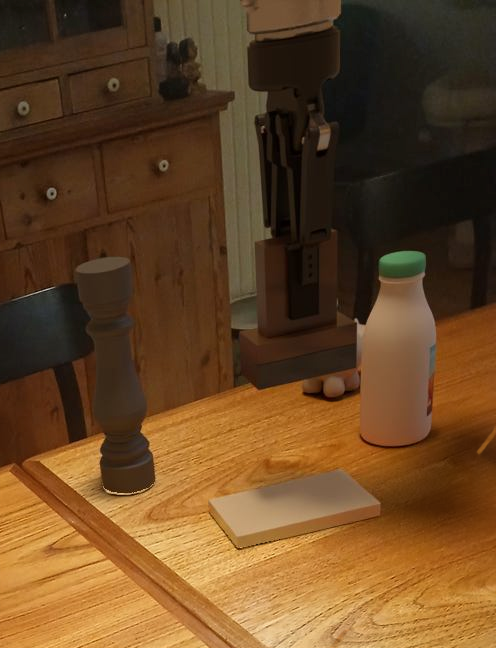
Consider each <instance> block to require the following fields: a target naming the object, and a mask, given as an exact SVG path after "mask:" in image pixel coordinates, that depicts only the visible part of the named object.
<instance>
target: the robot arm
mask: <svg viewBox="0 0 496 648" xmlns="http://www.w3.org/2000/svg"><path fill="white" fill-rule="evenodd" d="M239 1H240V5H241V7H242V8H246V9H245V11H246V14H245V15H246V31H247V32H248V33H249V34H250V35H254V39H253V40H251V41H250V42H249V44H248V45H247V47H246V55H247V56H246V57H247V82H248V87H249V88H250V90H252V91H254V92H259V93H267V95H266V104H265V108H266V109H265V110H266V112H265V113H260V114H256V115H255V116H254V121H253V123H254V124H253V125H254V128H255V134H256V138H257V145H258V160H259V174H260V189H261V190H260V191H261V203H262V218H263V226H264V228H265V229H270V236H271V238H274V237H279V236H283V235H288V234H291V237H292V243H288V244H284V248H285V250H286V251H287V252H288V302H289V319H290V320H297V319H301V318H305V317H310V316H314V315H319V244H321V243H322V242H325V241H329V240H330V239H331V228H332V226H333V207H334V206H333V204H334V187H335V186H334V184H335V167H336V166H335V164H336V162H335V161H336V150H337V145H338V141H339V135H340V124H339V122H338V121H337V120H336V121H330V122H327V121H326V114H325V113H326V112H325V103H324V99H323V91H322V86H323V84H324V83H325V82H326V81H331V80H332V79H334V78H335V77H336V76H337V75H339V72H340V69H341V30H340V29H338V26H337V25H334V20H337V19H338V17H339V16H340V15H341V14H342V0H239ZM332 229H333V228H332Z"/></svg>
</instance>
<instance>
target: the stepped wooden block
mask: <svg viewBox="0 0 496 648" xmlns="http://www.w3.org/2000/svg"><path fill="white" fill-rule="evenodd" d="M288 243H292V237H291V234H288V235H283V236H279V237H274V238H272V237H270V238H265V239H262V240H257V241H254V262H255V263H254V264H255V266H254V267H255V290H256V291H255V293H256V316H257V318H256V319H257V327H253V328H248V329H244V330H240V331H239V332H238V338H239V360H240V375H241V376H242V377H243V378H244V379H245V380H246V381H247V382H248V383H250V384H251V385H252V387H254V388H255V389H257V390H258V391H262V390H267V389H271V388H274V387H279V386H284V385H288V384H293V383H297V382H301V381H302V382H303V380H306V379H310V378H315V377H319V376H324V375H328V374H332V373H337V372H341V371H345V370H350V369H354V368H357V322H355V321H354V319H351V318H350V317H348V316H346V315H345V314H344V313H342V312H340V311H338V230H336V229H334V228H331V239H330V240H329V241H325V242H322V243H321V244H319V315H314V316H310V317H305V318H301V319H297V320H290V319H289V302H288V252H287V251H286V250H285V248H284V244H288Z"/></svg>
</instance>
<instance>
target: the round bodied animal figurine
mask: <svg viewBox="0 0 496 648" xmlns="http://www.w3.org/2000/svg"><path fill="white" fill-rule="evenodd" d="M353 321H355V322H357V368H354V369H350V370H345V371H341V372H337V373H332V374H328V375H324V376H319V377H315V378H310V379H306V380H302V382H301V389H302V391H303V392H304V393H307V394H318V393H320V392H321V391H322V390H323V395H324V396H325V397H326V398H337V397H340V396H342V395H343V394H344V393H345V392H351V391H355V390H357V389H358V388H359V387H360V385H361V377H360V375H359V372H358V371H359V370H358V369H359V367H361V357H362V341H363V334H364V329H365V326H366V324H361V323H360V322H359V319H358V318H357V317H355V318H354V319H353Z"/></svg>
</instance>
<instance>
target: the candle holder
mask: <svg viewBox="0 0 496 648" xmlns="http://www.w3.org/2000/svg"><path fill="white" fill-rule="evenodd" d="M131 263H132V262H131V260H130V259H129V258H128V257H124V256H109V257H101V258H96V259H92V260H89V261H86V262H83V263H81V264H79V265H77V267H75V271H74V272H75V276H76V284H77V285H76V286H77V292H78V300H79V302H80V303H81V304H82V307H83V309H84V311H85V312H86V313H87V316H89V318H90V320H89V321H88V322H87V324H86V326H85V332H86V334H87V335H88V336H89V337H90V338H91V339H92V340H93V347H94V353H95V362H96V369H95V370H96V371H95V381H94V391H93V401H92V416H93V418H94V420H95V422H96V423H97V425H98V426H99V427H100V429H102V433H103V435H104V436H105V438H104V439H103V442H102V443H101V444H100V447H99V452H100V454H101V457H100V458H99V462H98V463H99V469H100V478H101V484H103V485H102V487H103V486H104V488H105V489H107V490H109V491H111V492H117V493H132V492H133V493H134V492H137V491H141V490H143V489H146V488H149V487H150V486H151V485H152V484H154V482H155V483H156V481H155V479H156V470H155V462H154V454H153V452H152V451H151V449H149V448H150V445H151V443H150V441H149V439H148V438H147V437H146V436H145V435H144V434H143V432H142V429H143V425H142V424H143V423H144V420H145V418H146V415H147V412H148V408H149V407H148V400H147V397H146V394H145V392H144V389H143V386H142V382H141V381H140V378H139V375H138V372H137V369H136V366H135V364H134V360H133V355H132V346H131V337H130V335H131V330H132V329H133V328H134V326H135V319H134V317H132V316H131V315H130V314H128V311H129V307H130V305H131V302H132V295H133V293H134V284H133V283H134V282H133V273H132V264H131Z"/></svg>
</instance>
